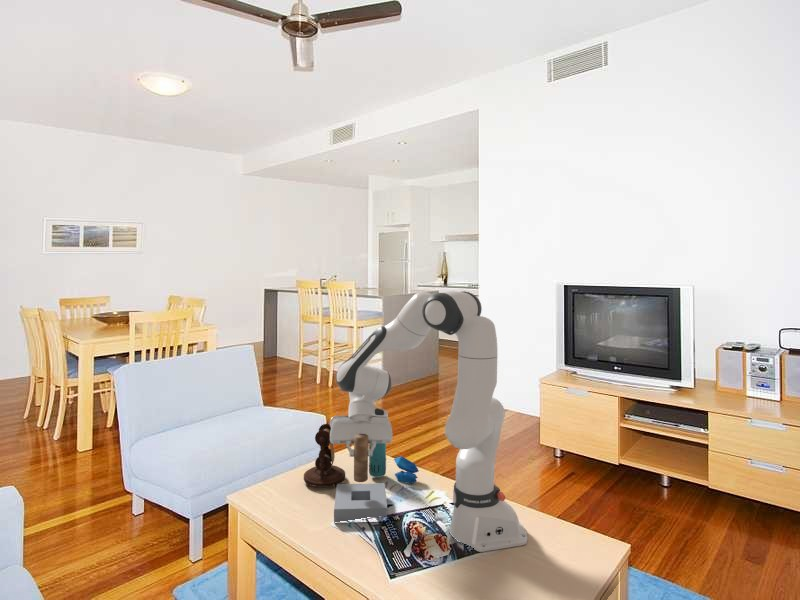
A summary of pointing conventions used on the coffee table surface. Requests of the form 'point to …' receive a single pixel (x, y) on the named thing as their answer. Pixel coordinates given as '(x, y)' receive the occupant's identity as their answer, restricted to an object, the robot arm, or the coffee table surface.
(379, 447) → the beverage bottle
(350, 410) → the robot arm
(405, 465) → the open blue clamshell
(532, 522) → the coffee table surface
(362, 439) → the walnut dowel
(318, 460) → the dark brown ring stand
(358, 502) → the grey square socket block
